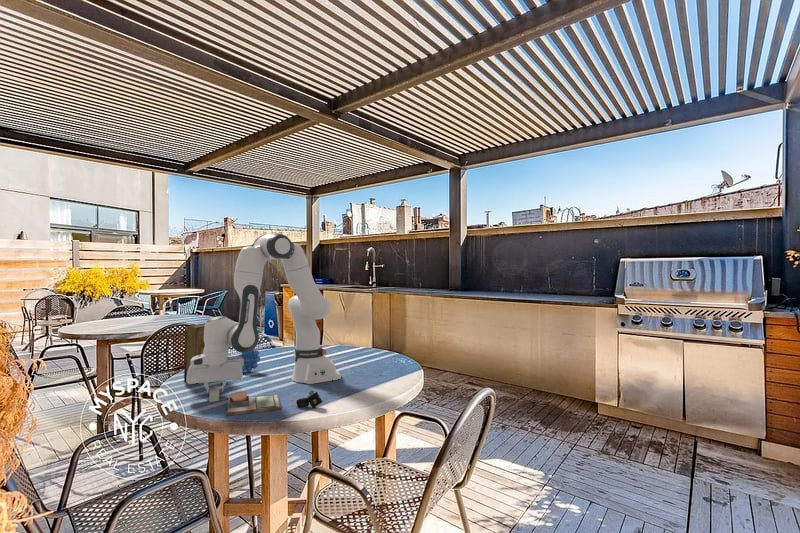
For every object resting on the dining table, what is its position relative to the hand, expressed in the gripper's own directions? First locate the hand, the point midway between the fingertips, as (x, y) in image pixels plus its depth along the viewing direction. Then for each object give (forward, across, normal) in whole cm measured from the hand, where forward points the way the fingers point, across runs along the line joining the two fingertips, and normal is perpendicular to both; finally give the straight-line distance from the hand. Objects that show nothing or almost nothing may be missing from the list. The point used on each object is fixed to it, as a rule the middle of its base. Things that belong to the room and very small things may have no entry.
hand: (215, 392), depth 153 cm
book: (+2, +7, -28) cm, 29 cm away
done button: (-1, -9, +16) cm, 18 cm away
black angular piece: (+2, -33, +25) cm, 41 cm away
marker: (+2, 0, +1) cm, 2 cm away
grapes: (+2, -13, -35) cm, 37 cm away
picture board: (+2, -14, +16) cm, 21 cm away
